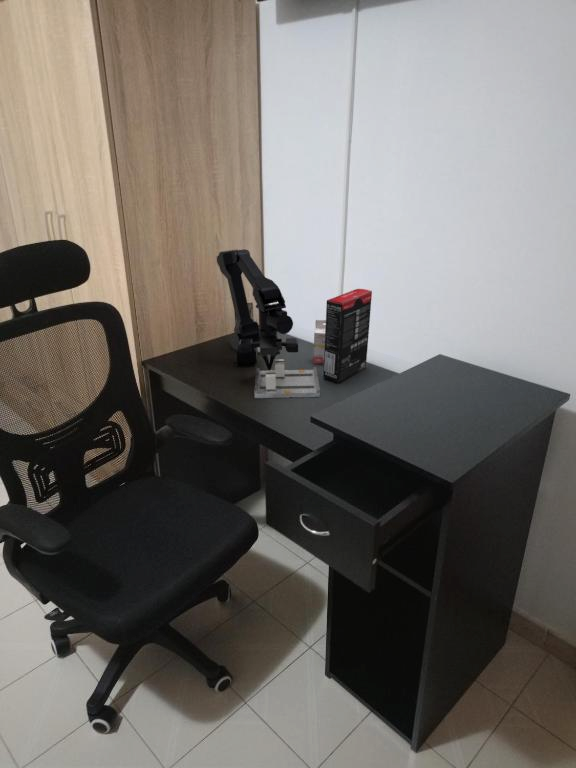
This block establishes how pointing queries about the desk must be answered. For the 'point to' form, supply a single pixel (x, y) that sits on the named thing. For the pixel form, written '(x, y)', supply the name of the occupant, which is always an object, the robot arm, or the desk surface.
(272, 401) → the desk surface
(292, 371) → the console
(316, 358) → the ink cartridge box
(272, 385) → the fader
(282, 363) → the fader
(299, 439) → the desk surface
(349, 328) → the graphics card box
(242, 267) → the robot arm
